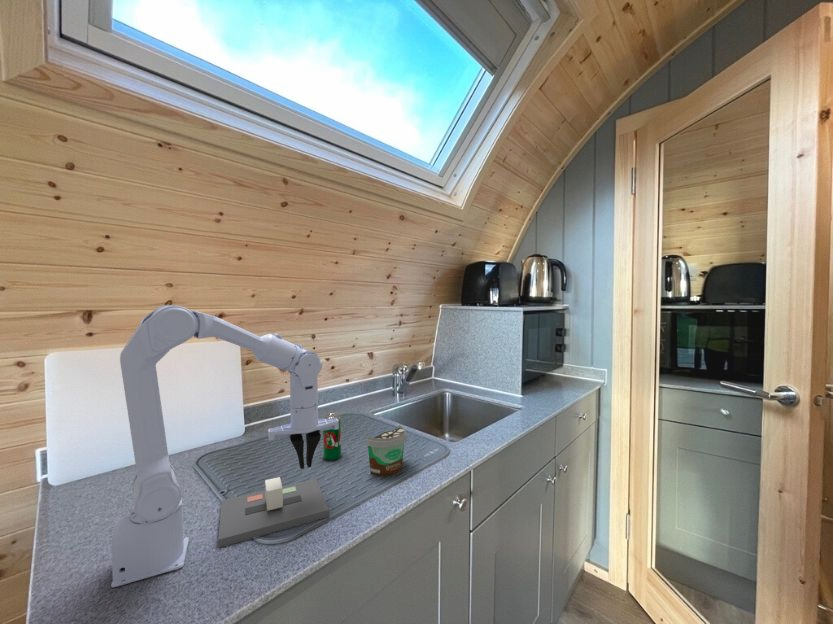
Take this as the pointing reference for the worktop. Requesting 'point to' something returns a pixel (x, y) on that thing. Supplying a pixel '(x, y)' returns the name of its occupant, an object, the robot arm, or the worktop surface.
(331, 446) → the soda can
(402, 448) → the food container
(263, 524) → the switch panel
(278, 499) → the breaker knob
